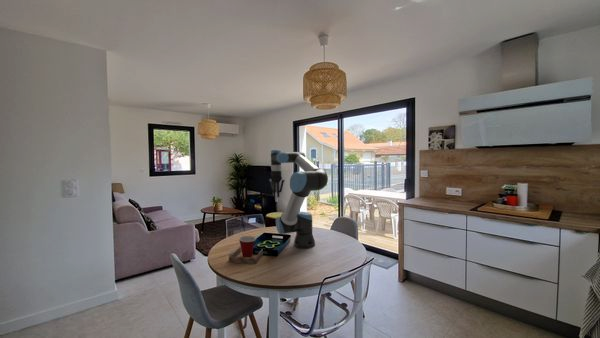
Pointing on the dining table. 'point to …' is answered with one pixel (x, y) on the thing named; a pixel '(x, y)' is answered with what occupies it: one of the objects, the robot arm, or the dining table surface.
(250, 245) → the plastic cup
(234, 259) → the frame
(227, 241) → the dining table surface
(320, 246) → the dining table surface
